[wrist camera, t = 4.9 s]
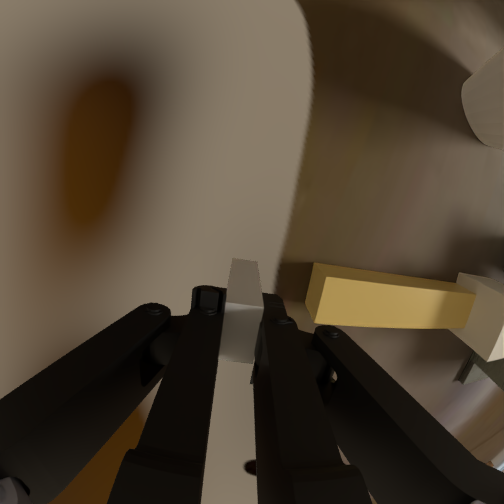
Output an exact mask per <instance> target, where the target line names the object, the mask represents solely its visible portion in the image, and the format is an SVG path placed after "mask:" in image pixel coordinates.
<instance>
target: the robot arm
mask: <svg viewBox="0 0 504 504" xmlns="http://www.w3.org/2000/svg"><path fill="white" fill-rule="evenodd" d="M258 271H259V270H258V264H257V262H256V261H249V260H243V259H236V258H233V259H232V265H231V271H230V276H229V281H228V287H227V288H219V287H214V286H207V285H202V286H197V287H194V288H193V290H192V301H191V309H190V312H189V314H187V315H183V316H171V311H170V309H169V308H168V307H166V306H164V305H162V304H158V303H148V304H143V305H141V306H139V307H137V308H136V309H134V310H133V311H131V312H129V313H128V314H126V315H125V316H123V317H122V318H120V319H119V320H117V321H116V322H114V323H113V324H111V325H110V326H108V327H107V328H105V329H103V330H102V331H100V332H99V333H98V334H96V335H94V336H93V337H91V338H90V339H89V340H87V341H85V342H84V343H82V344H81V345H79V346H78V347H76V348H75V349H73V350H72V351H70V352H69V353H67V354H66V355H65V356H63V357H61V358H60V359H58V360H57V361H55V362H54V363H52V364H51V365H50V366H48V367H47V368H45V369H44V370H42V371H41V372H39V373H38V374H36V375H35V376H34V377H32V378H30V379H29V380H28V381H26V382H25V383H23V384H22V385H20V386H19V387H17V388H16V389H14V390H13V391H12V392H10V393H9V394H7V395H6V396H4V397H3V398H2V399H0V504H47V503H49V502H50V501H52V500H53V499H54V498H55V497H56V496H58V495H59V494H60V493H61V492H62V491H63V490H64V489H65V488H66V486H68V484H69V483H70V482H71V481H72V480H73V479H74V478H75V477H76V476H77V474H78V473H79V472H80V471H81V470H82V469H83V468H84V467H85V465H86V464H87V463H88V462H89V461H90V460H91V459H92V458H93V457H94V455H95V454H96V453H97V452H98V451H99V450H100V449H101V447H102V446H103V445H104V444H105V443H106V442H107V441H108V440H109V438H110V437H111V436H112V435H113V434H114V432H116V430H117V429H118V428H119V427H120V426H121V425H122V424H123V422H124V421H125V420H126V419H127V418H128V417H129V416H130V414H131V413H132V412H133V411H134V410H135V409H136V407H137V406H138V405H139V404H140V403H141V402H142V400H143V399H144V398H145V397H146V396H147V395H148V393H149V392H150V391H151V390H152V389H153V388H154V387H155V385H156V384H157V383H158V382H159V381H160V380H161V378H162V377H163V378H162V381H161V384H160V386H159V389H158V391H157V394H156V396H155V399H154V402H153V404H152V407H151V410H150V413H149V415H148V418H147V420H146V423H145V426H144V429H143V431H142V434H141V437H140V440H139V443H138V445H137V447H136V448H135V449H129V450H128V451H127V452H126V454H125V456H124V458H123V460H122V462H121V465H120V468H119V471H118V473H117V476H116V479H115V482H114V484H113V487H112V491H111V493H110V496H109V499H108V502H107V504H201V496H202V486H203V477H204V469H205V460H206V452H207V443H208V435H209V427H210V419H211V411H212V404H213V396H214V388H215V381H216V374H217V367H218V359H219V360H226V361H233V362H241V363H251V364H253V360H254V355H255V362H254V367H253V371H252V376H251V381H250V384H253V392H254V418H255V442H256V443H255V444H256V470H257V494H258V504H372V501H371V498H370V495H369V493H368V491H369V492H370V494H371V495H372V496H373V498H374V499H375V501H376V502H377V504H504V473H503V472H501V471H499V470H497V469H495V468H493V467H491V466H489V465H487V464H485V463H483V462H481V461H479V460H477V459H476V458H475V457H474V456H473V455H472V454H471V453H470V452H469V451H468V450H467V449H466V448H465V447H464V446H463V445H462V444H461V443H460V442H459V441H458V440H457V439H456V438H454V437H453V436H452V435H451V434H450V433H449V432H448V431H447V430H446V429H445V428H444V427H443V426H442V425H441V424H440V423H439V422H438V421H437V420H436V419H435V418H434V417H433V416H432V415H431V414H430V413H429V412H428V411H426V410H425V409H424V408H423V407H422V406H421V405H420V404H419V403H418V402H417V401H416V400H415V399H414V398H413V397H412V396H411V395H410V394H409V393H408V392H407V391H406V390H405V389H404V388H402V387H401V386H400V385H399V384H398V383H397V382H396V381H395V380H394V379H393V378H392V377H391V376H390V375H389V374H388V373H387V372H386V371H385V370H384V369H383V368H382V367H380V366H379V365H378V364H377V363H376V362H375V361H374V360H373V359H372V358H371V357H370V356H369V355H368V354H367V353H366V352H365V351H364V350H363V349H362V348H361V347H359V346H358V345H357V344H356V343H355V342H354V341H353V340H352V339H351V338H350V337H349V336H348V335H347V334H346V333H345V332H343V331H342V330H341V329H338V328H336V327H335V326H331V325H322V326H318V327H316V328H315V332H314V334H312V333H308V332H304V331H301V330H299V329H298V327H297V324H296V322H295V321H294V319H292V318H291V317H289V316H287V313H286V310H285V307H284V303H283V300H282V299H281V298H280V297H279V296H278V295H276V294H268V293H262V291H261V284H260V277H259V272H258ZM334 371H335V372H336V374H337V380H336V381H335V380H334V379H333V377H332V376H333V374H334ZM337 445H338V446H339V448H340V449H341V451H342V452H343V454H344V455H345V457H346V458H347V460H348V461H349V463H350V464H351V465H346V464H344V463H343V461H342V459H341V456H340V453H339V449H338V446H337ZM367 489H368V490H367Z"/></svg>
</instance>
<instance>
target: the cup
mask: <svg viewBox="0 0 504 504" xmlns="http://www.w3.org/2000/svg"><path fill="white" fill-rule="evenodd" d="M461 98H462V105H463V109H464V112H465V116H466V118H467V120H468V123H469V125H470V127H471V129H472V130H473V132H474V134H475V135H476V136H477V138H478V139H479V140H480V141H481V142H482V143H483V144H485V145H487V146H489V147H493V148H496V149H500V150H503V151H504V47H503V48H502V49H501V50H500V51H499V52H498V53H496V54H495V55H494V56H493V57H492V58H491V59H490V60H489V61H487V62H486V63H485V64H484V65H483V66H482V67H481V68H479V69H478V70H477V71H476V72H475V73H474V74H473V75H472V76H470V77H469V78H468V79H467V80H466V81H465V82H464V83H463V86H462V90H461Z"/></svg>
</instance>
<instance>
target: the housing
mask: <svg viewBox="0 0 504 504" xmlns="http://www.w3.org/2000/svg"><path fill="white" fill-rule="evenodd" d="M503 271H504V269H503ZM488 377H489V378H490V379H492V380H493V381H494V382H495V383H496V384H497V385H498V386H499V387H500V388H501V389H502V390H503V391H504V358H502V359H498V360H493V361H489V362H486V361H485V360H484V359H483V358H482V357H481V356H480V355H478V354H477V353H476V352H475V351H473V353H472V355H471V357H470V359H469V361H468V363H467V365H466V367H465V369H464V371H463V373H462V375H461V377H460V378H459V381H460V382H461V383H462V384H463V385H464V384H468V383H472V382H475V381H479V380H483V379H486V378H488Z"/></svg>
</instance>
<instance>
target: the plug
mask: <svg viewBox="0 0 504 504" xmlns="http://www.w3.org/2000/svg"><path fill="white" fill-rule="evenodd" d="M305 305H306V307H307V309H308V311H309V313H310V315H311V317H312V319H313V321H314V323H318V324H331V325H344V326H361V327H381V328H418V329H449V330H450V331H451V332H452V333H454V334H455V335H456V336H457V337H458V338H460V339H461V340H462V341H463V342H464V343H466V344H467V345H468V346H469V347H470V348H471V349H473V350H474V351H475V352H476V353H477V354H478V355H480V356H481V357H482V358H483V359H484V360H485V361H486V362H489V361H493V360H498V359H502V358H504V284H502V283H500V282H498V281H496V280H494V279H492V278H487V277H482V276H477V275H471V274H466V273H461V272H459V274H458V277H457V281H456V283H453V282H446V281H439V280H432V279H425V278H418V277H411V276H404V275H397V274H390V273H383V272H376V271H369V270H362V269H356V268H349V267H342V266H335V265H328V264H321V263H314V265H313V269H312V274H311V278H310V283H309V287H308V292H307V296H306V300H305Z"/></svg>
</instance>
